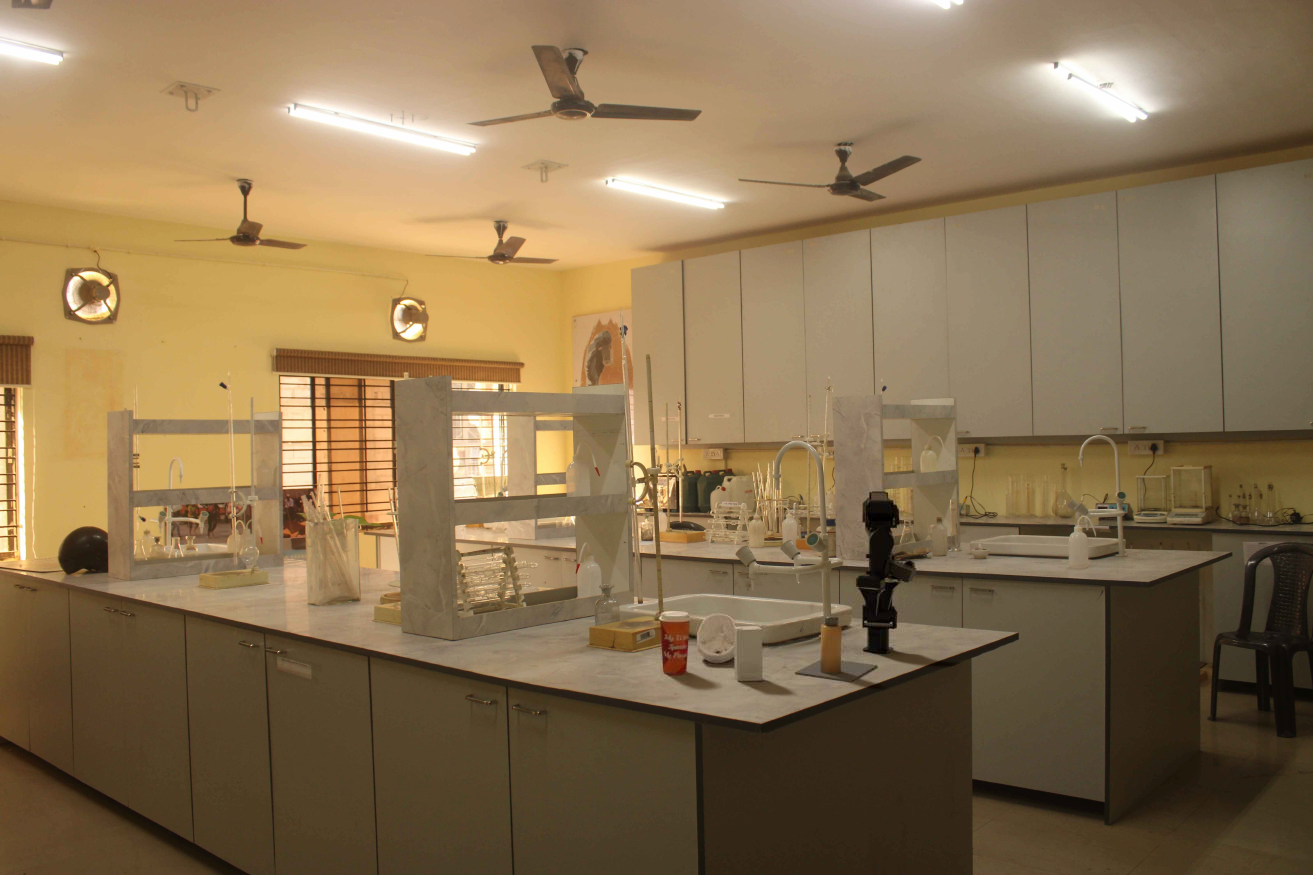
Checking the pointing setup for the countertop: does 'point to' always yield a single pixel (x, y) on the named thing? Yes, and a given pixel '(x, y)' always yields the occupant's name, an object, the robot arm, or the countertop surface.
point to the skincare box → (748, 653)
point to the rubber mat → (848, 673)
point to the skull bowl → (716, 638)
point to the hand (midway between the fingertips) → (880, 612)
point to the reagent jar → (831, 646)
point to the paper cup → (674, 641)
